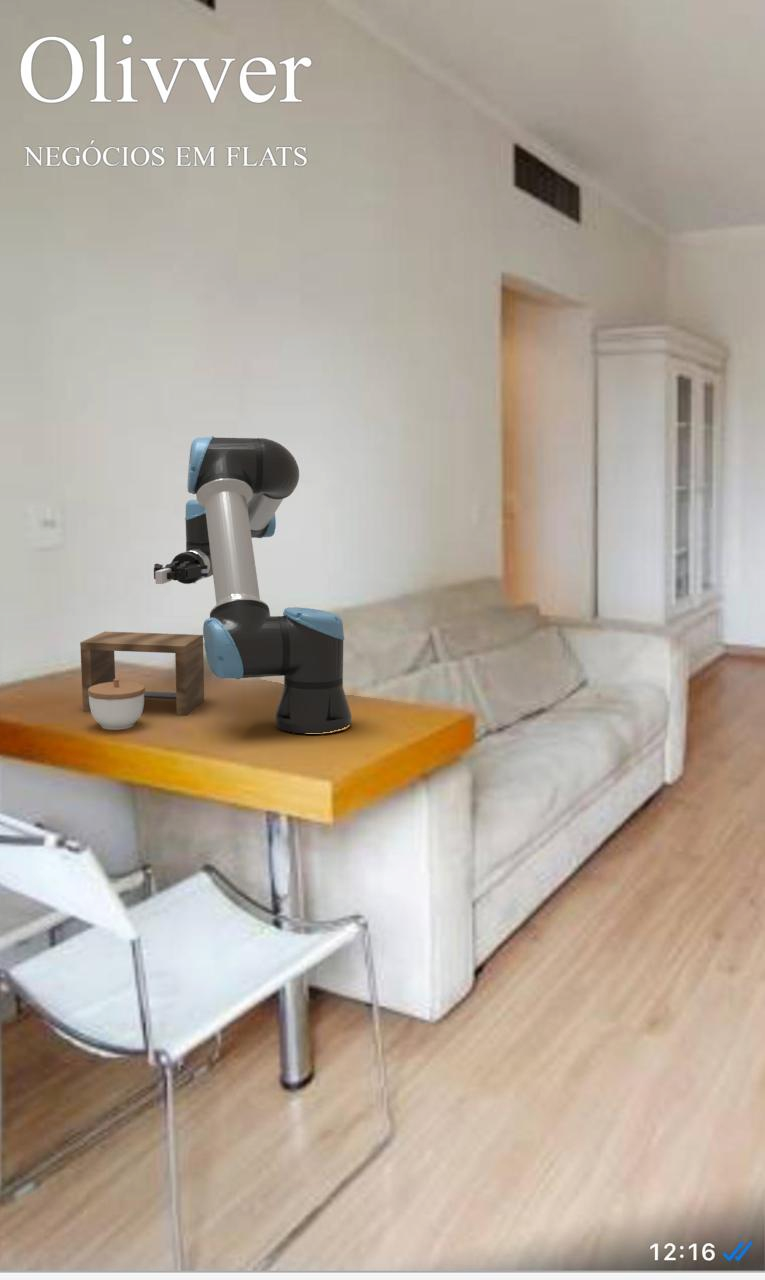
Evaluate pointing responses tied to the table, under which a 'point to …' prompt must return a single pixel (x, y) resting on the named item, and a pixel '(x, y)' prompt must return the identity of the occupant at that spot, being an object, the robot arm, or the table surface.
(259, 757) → the table surface
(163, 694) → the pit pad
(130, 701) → the lidded jar
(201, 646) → the tunnel
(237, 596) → the robot arm
